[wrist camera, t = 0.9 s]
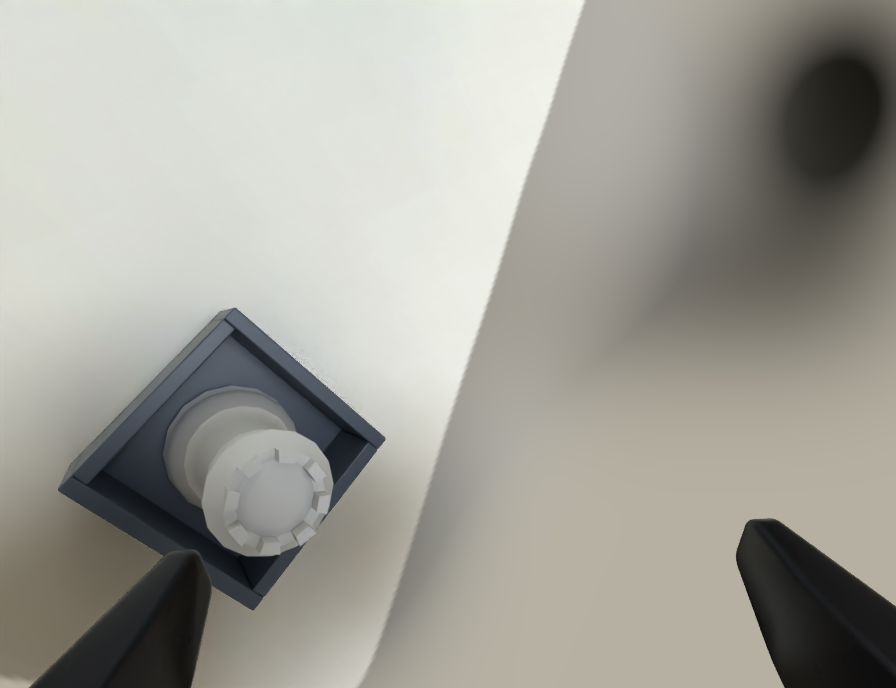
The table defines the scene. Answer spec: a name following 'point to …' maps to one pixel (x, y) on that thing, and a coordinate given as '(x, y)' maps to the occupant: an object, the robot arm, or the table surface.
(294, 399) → the tote
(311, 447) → the rook chess piece
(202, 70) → the table surface
